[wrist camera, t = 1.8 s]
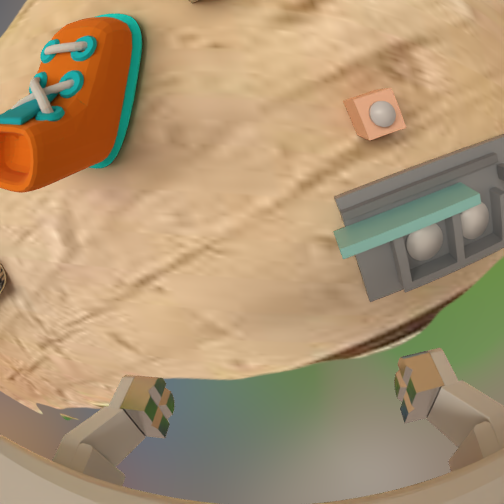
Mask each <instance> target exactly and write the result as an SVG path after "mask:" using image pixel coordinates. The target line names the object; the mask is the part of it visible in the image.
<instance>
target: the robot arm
mask: <svg viewBox="0 0 504 504" xmlns="http://www.w3.org/2000/svg"><path fill="white" fill-rule="evenodd" d="M398 367H399V370H398V372H396V374H395V380H394V385H395V392H396V396H397V399H399V400H400V401H402V404H401V407H400V410H401V413H402V416H403V420H404V423H409V422H413V421H417V420H421V419H425V418H427V420H428V421H429V422H430V423H431V424H433V425H434V426H435V427H436V428H437V429H438V430H439V431H440V432H441V433H443V434H444V435H445V436H446V437H447V438H448V439H449V440H450V441H452V442H453V443H454V444H455V445H456V446H457V447H458V449H457V450H456V452H455V453H454V454H453V456H452V457H451V458H450V459H449V461H448V462H449V466H450V470H451V472H450V473H447V474H444V475H442V476H439V477H436V478H433V479H430V480H427V481H424V482H421V483H417V484H414V485H411V486H407V487H403V488H400V489H396V490H392V491H388V492H383V493H379V494H375V495H370V496H364V497H359V498H353V499H347V500H341V501H332V502H324V503H314V504H504V406H503V405H502V404H500V403H498V402H497V401H495V400H493V399H492V398H490V397H488V396H487V395H485V394H483V393H482V392H480V391H479V390H477V389H475V388H474V387H472V386H470V385H469V384H467V383H466V382H464V381H458V379H457V377H456V375H455V373H454V371H453V369H452V367H451V365H450V363H449V361H448V359H447V357H446V356H445V354H444V352H443V350H442V349H441V348H437V349H433V350H429V351H424V352H420V353H416V354H412V355H407V356H403V357H400V359H399V361H398ZM165 386H166V383H165V381H164V379H163V378H158V377H145V376H133V375H125V376H124V377H122V379H121V381H120V383H119V385H118V387H117V389H116V391H115V393H114V396H113V398H112V400H111V402H110V404H109V406H108V407H106V406H105V407H104V408H102V409H101V410H99V411H98V412H97V413H95V414H94V415H93V416H91V417H90V418H88V419H87V420H86V421H84V422H83V423H81V424H80V425H79V426H77V427H76V428H75V429H73V430H72V431H70V432H69V433H68V434H66V435H64V437H63V439H62V441H61V443H60V445H59V447H58V449H57V451H56V453H55V455H54V457H53V459H52V461H51V460H49V459H47V458H44V457H42V456H40V455H38V454H36V453H34V452H32V451H30V450H28V449H26V448H24V447H22V446H20V445H18V444H17V443H15V442H13V441H11V440H10V439H8V438H6V437H4V436H2V435H0V504H217V503H208V502H199V501H191V500H185V499H178V498H172V497H166V496H162V495H157V494H152V493H148V492H142V491H139V490H134V489H131V488H127V487H124V486H123V483H124V479H125V475H124V474H123V473H122V472H121V471H120V470H119V469H117V468H116V466H117V465H118V464H119V463H120V462H121V461H122V460H123V459H124V458H125V457H126V456H127V455H128V454H129V453H130V452H131V451H132V450H133V449H134V448H135V447H136V446H137V445H138V444H139V443H140V442H141V441H142V440H143V439H144V438H145V436H149V437H158V438H165V437H166V434H167V431H168V428H169V422H168V418H169V417H170V416H171V415H173V411H174V397H173V395H172V393H171V391H169V390H168V389H166V388H165Z"/></svg>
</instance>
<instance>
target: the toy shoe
mask: <svg viewBox="0 0 504 504" xmlns="http://www.w3.org/2000/svg"><path fill="white" fill-rule="evenodd" d="M141 53H142V35H141V31H140V28H139V26H138V24H137V22H136V20H134V19H133V18H132V17H130V16H128V15H124V14H105V15H100V16H96V17H94V18H86V19H82V20H79V21H76V22H73V23H70V24H67V25H66V26H64V27H63V28H62V29H60V30H59V31H58V32H57V33H56V34H55V35H54V37H53V38H52V40H51V41H49V42H48V43H47V44H46V45H45V46H44V48H43V50H42V52H41V60H42V62H41V64H40V67H39V70H38V73H37V74H36V75H35V76H34V78H33V79H32V80H31V81H30V87H29V92H30V93H29V95H27V96H26V97H24V98H22V99H21V100H19V101H18V102H17V103H16V104H15V105H14V106H13V107H12V109H10V110H8V111H6V112H5V113H3V114H1V115H0V188H3V189H6V190H10V191H14V192H29V191H33V190H36V189H39V188H42V187H45V186H47V185H49V184H52V183H54V182H56V181H58V180H61V179H63V178H65V177H67V176H69V175H72V174H74V173H76V172H78V171H81V170H83V169H85V168H87V167H90V168H104V167H106V166H108V165H109V164H111V163H112V161H113V160H114V159H115V158H116V156H117V155H118V153H119V151H120V148H121V146H122V143H123V141H124V138H125V135H126V131H127V128H128V124H129V120H130V116H131V112H132V107H133V102H134V97H135V91H136V85H137V79H138V73H139V67H140V60H141Z"/></svg>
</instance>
